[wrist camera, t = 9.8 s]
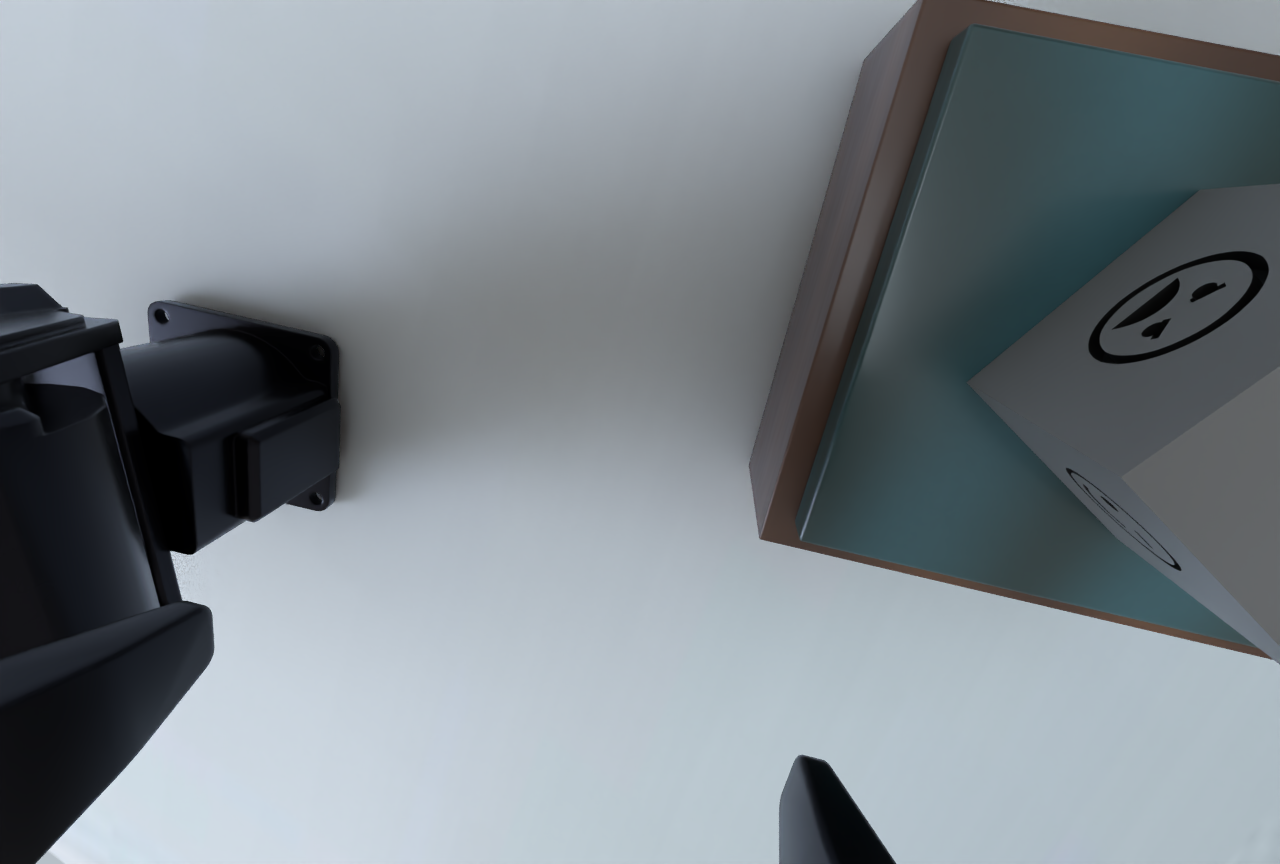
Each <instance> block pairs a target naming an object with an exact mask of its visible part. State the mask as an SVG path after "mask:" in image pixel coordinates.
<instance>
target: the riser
mask: <svg viewBox="0 0 1280 864" xmlns="http://www.w3.org/2000/svg"><path fill="white" fill-rule="evenodd" d="M1269 184H1280V56H1278V55H1273V54H1268V53H1262V52H1257V51H1252V50H1246V49H1241V48H1236V47H1231V46H1225V45H1220V44H1215V43H1210V42H1204V41H1199V40H1194V39H1188V38H1183V37H1178V36H1173V35H1167V34H1162V33H1157V32H1151V31H1146V30H1141V29H1136V28H1130V27H1125V26H1120V25H1114V24H1109V23H1104V22H1099V21H1093V20H1088V19H1083V18H1077V17H1072V16H1067V15H1062V14H1056V13H1051V12H1046V11H1040V10H1035V9H1030V8H1025V7H1019V6H1014V5H1009V4H1004V3H998V2H993V1H988V0H917V1H916V3H915V4H914V5H913V6H912V7H911V8H910V9H909V10H908V11H907V13H906V14H905V15H904V16H903V17H902V18H901V19H900V20H899V22H898V23H897V24H896V25H895V26H894V27H893V28H892V29H891V30H890V32H889V33H888V34H887V35H886V36H885V37H884V38H883V39H882V41H881V42H880V43H879V44H878V45H877V46H876V47H875V48H874V49H873V51H872V52H871V53H870V54H869V55H868V56H867V57H866V58H865V60H864V62H863V66H862V69H861V73H860V76H859V80H858V83H857V87H856V90H855V94H854V97H853V101H852V104H851V108H850V111H849V115H848V118H847V122H846V125H845V129H844V132H843V136H842V139H841V143H840V147H839V150H838V154H837V157H836V161H835V164H834V168H833V171H832V175H831V178H830V182H829V185H828V189H827V192H826V196H825V199H824V203H823V206H822V210H821V213H820V217H819V220H818V224H817V227H816V231H815V234H814V238H813V241H812V245H811V248H810V252H809V255H808V259H807V263H806V266H805V270H804V273H803V277H802V280H801V284H800V287H799V291H798V294H797V298H796V301H795V305H794V308H793V312H792V315H791V319H790V322H789V326H788V329H787V333H786V336H785V340H784V343H783V347H782V350H781V354H780V357H779V361H778V364H777V368H776V371H775V375H774V379H773V382H772V386H771V389H770V393H769V396H768V400H767V403H766V407H765V410H764V414H763V417H762V421H761V424H760V428H759V431H758V435H757V438H756V442H755V445H754V449H753V452H752V456H751V459H750V463H749V469H750V476H751V483H752V490H753V497H754V504H755V511H756V519H757V526H758V533H759V538H760V539H761V540H766V541H770V542H774V543H778V544H783V545H787V546H791V547H795V548H800V549H804V550H808V551H813V552H817V553H821V554H825V555H830V556H834V557H838V558H842V559H847V560H851V561H855V562H859V563H864V564H868V565H872V566H876V567H881V568H885V569H889V570H893V571H898V572H902V573H906V574H910V575H915V576H919V577H923V578H927V579H932V580H936V581H940V582H945V583H949V584H953V585H957V586H962V587H966V588H970V589H974V590H979V591H983V592H987V593H991V594H996V595H1000V596H1004V597H1008V598H1013V599H1017V600H1021V601H1025V602H1030V603H1034V604H1038V605H1042V606H1047V607H1051V608H1055V609H1059V610H1064V611H1068V612H1072V613H1077V614H1081V615H1085V616H1089V617H1094V618H1098V619H1102V620H1106V621H1111V622H1115V623H1119V624H1123V625H1128V626H1132V627H1136V628H1140V629H1145V630H1149V631H1153V632H1157V633H1162V634H1166V635H1170V636H1174V637H1179V638H1183V639H1187V640H1192V641H1196V642H1200V643H1204V644H1209V645H1213V646H1217V647H1221V648H1226V649H1230V650H1234V651H1238V652H1243V653H1247V654H1251V655H1255V656H1260V657H1264V658H1268V659H1272V658H1271V657H1270V656H1268V655H1267V654H1266V653H1264V652H1263V651H1262V650H1261V649H1259V648H1258V647H1257V646H1255V645H1254V644H1253V643H1251V642H1250V641H1249V640H1248V639H1246V638H1245V637H1244V636H1242V635H1241V634H1240V633H1239V632H1237V631H1236V630H1235V629H1233V628H1232V627H1231V626H1230V625H1228V624H1227V623H1226V622H1224V621H1223V620H1222V619H1220V618H1219V617H1218V616H1217V615H1215V614H1214V613H1213V612H1211V611H1210V610H1209V609H1208V608H1206V607H1205V606H1204V605H1202V604H1201V603H1200V602H1198V601H1197V600H1196V599H1195V598H1193V597H1192V596H1191V595H1189V594H1188V593H1187V592H1186V591H1184V590H1183V589H1182V588H1180V587H1179V586H1178V585H1177V584H1175V583H1174V582H1173V581H1171V580H1170V579H1169V578H1167V577H1166V576H1165V575H1164V574H1162V573H1161V572H1160V571H1158V570H1157V569H1156V568H1155V567H1153V566H1152V565H1151V564H1149V563H1148V562H1147V561H1145V560H1144V559H1143V558H1142V557H1140V556H1139V555H1138V554H1136V553H1135V552H1134V551H1133V550H1131V549H1130V548H1129V547H1127V546H1126V545H1125V544H1124V543H1122V542H1121V541H1120V540H1118V539H1117V538H1116V537H1115V536H1114V535H1113V534H1112V533H1111V532H1110V531H1109V530H1108V529H1107V528H1106V527H1105V526H1104V525H1103V524H1102V523H1101V521H1100V520H1099V519H1098V518H1097V517H1096V516H1095V515H1094V514H1093V513H1092V512H1091V511H1090V510H1089V509H1088V508H1087V507H1086V506H1085V505H1084V504H1083V503H1082V502H1081V501H1080V500H1079V499H1078V498H1077V497H1076V496H1075V495H1074V493H1073V492H1072V491H1071V490H1070V489H1069V488H1068V487H1067V486H1066V485H1065V484H1064V483H1063V482H1062V481H1061V480H1060V479H1059V478H1058V477H1057V476H1056V475H1055V474H1054V473H1053V472H1052V471H1051V470H1050V469H1049V468H1048V467H1047V465H1046V464H1045V463H1044V462H1043V461H1042V460H1041V459H1040V458H1039V457H1038V456H1037V455H1036V454H1035V453H1034V452H1033V451H1032V450H1031V449H1030V448H1029V447H1028V446H1027V445H1026V444H1025V443H1024V442H1023V441H1022V440H1021V439H1020V437H1019V436H1018V435H1017V434H1016V433H1015V432H1014V431H1013V430H1012V429H1011V428H1010V427H1009V426H1008V425H1007V424H1006V423H1005V422H1004V421H1003V420H1002V419H1001V418H1000V417H999V416H998V415H997V414H996V413H995V412H994V411H993V409H992V408H991V407H990V406H989V405H988V404H987V403H986V402H985V401H984V400H983V399H982V398H981V397H980V396H979V395H978V394H977V393H976V392H975V391H974V390H973V389H972V388H971V387H970V386H969V385H968V384H967V382H968V381H969V380H970V379H971V378H972V377H974V376H975V375H976V374H977V373H979V372H980V371H981V370H982V369H983V368H985V367H986V366H987V365H988V364H989V363H991V362H992V361H993V360H994V359H995V358H997V357H998V356H999V355H1000V354H1002V353H1003V352H1004V351H1005V350H1006V349H1008V348H1009V347H1010V346H1011V345H1012V344H1014V343H1015V342H1016V341H1017V340H1019V339H1020V338H1021V337H1022V336H1023V335H1025V334H1026V333H1027V332H1028V331H1029V330H1031V329H1032V328H1033V327H1034V326H1035V325H1037V324H1038V323H1039V322H1040V321H1042V320H1043V319H1044V318H1045V317H1046V316H1048V315H1049V314H1050V313H1051V312H1052V311H1054V310H1055V309H1056V308H1057V307H1058V306H1060V305H1061V304H1062V303H1063V302H1065V301H1066V300H1067V299H1068V298H1069V297H1071V296H1072V295H1073V294H1074V293H1075V292H1077V291H1078V290H1079V289H1080V288H1082V287H1083V286H1084V285H1085V284H1086V283H1088V282H1089V281H1090V280H1091V279H1092V278H1094V277H1095V276H1096V275H1097V274H1098V273H1100V272H1101V271H1102V270H1103V269H1105V268H1106V267H1107V266H1108V265H1109V264H1111V263H1112V262H1113V261H1114V260H1115V259H1117V258H1118V257H1119V256H1120V255H1122V254H1123V253H1124V252H1125V251H1126V250H1128V249H1129V248H1130V247H1131V246H1132V245H1134V244H1135V243H1136V242H1137V241H1138V240H1140V239H1141V238H1142V237H1143V236H1145V235H1146V234H1147V233H1148V232H1149V231H1151V230H1152V229H1153V228H1154V227H1155V226H1157V225H1158V224H1159V223H1160V222H1161V221H1163V220H1164V219H1165V218H1166V217H1168V216H1169V215H1170V214H1171V213H1172V212H1174V211H1175V210H1176V209H1177V208H1178V207H1180V206H1181V205H1182V204H1183V203H1185V202H1186V201H1187V200H1188V199H1189V198H1191V197H1192V196H1193V195H1194V194H1195V193H1197V192H1198V191H1199V190H1204V189H1217V188H1230V187H1243V186H1256V185H1269ZM1272 660H1273V659H1272Z"/></svg>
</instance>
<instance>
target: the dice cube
mask: <svg viewBox="0 0 1280 864" xmlns="http://www.w3.org/2000/svg"><path fill="white" fill-rule="evenodd" d="M967 384H968V385H969V386H970V387H971V388H972V389H973V390H974V391H975V392H976V393H977V394H978V395H979V396H980V397H981V398H982V399H983V400H984V401H985V402H986V403H987V404H988V405H989V406H990V407H991V408H992V409H993V411H994V412H995V413H996V414H997V415H998V416H999V417H1000V418H1001V419H1002V420H1003V421H1004V422H1005V423H1006V424H1007V425H1008V426H1009V427H1010V428H1011V429H1012V430H1013V431H1014V432H1015V433H1016V434H1017V435H1018V436H1019V437H1020V439H1021V440H1022V441H1023V442H1024V443H1025V444H1026V445H1027V446H1028V447H1029V448H1030V449H1031V450H1032V451H1033V452H1034V453H1035V454H1036V455H1037V456H1038V457H1039V458H1040V459H1041V460H1042V461H1043V462H1044V463H1045V464H1046V465H1047V467H1048V468H1049V469H1050V470H1051V471H1052V472H1053V473H1054V474H1055V475H1056V476H1057V477H1058V478H1059V479H1060V480H1061V481H1062V482H1063V483H1064V484H1065V485H1066V486H1067V487H1068V488H1069V489H1070V490H1071V491H1072V492H1073V493H1074V495H1075V496H1076V497H1077V498H1078V499H1079V500H1080V501H1081V502H1082V503H1083V504H1084V505H1085V506H1086V507H1087V508H1088V509H1089V510H1090V511H1091V512H1092V513H1093V514H1094V515H1095V516H1096V517H1097V518H1098V519H1099V520H1100V521H1101V523H1102V524H1103V525H1104V526H1105V527H1106V528H1107V529H1108V530H1109V531H1110V532H1111V533H1112V534H1113V535H1114V536H1115V537H1116V538H1117V539H1118V540H1120V541H1121V542H1122V543H1124V544H1125V545H1126V546H1127V547H1129V548H1130V549H1131V550H1133V551H1134V552H1135V553H1136V554H1138V555H1139V556H1140V557H1142V558H1143V559H1144V560H1145V561H1147V562H1148V563H1149V564H1151V565H1152V566H1153V567H1155V568H1156V569H1157V570H1158V571H1160V572H1161V573H1162V574H1164V575H1165V576H1166V577H1167V578H1169V579H1170V580H1171V581H1173V582H1174V583H1175V584H1177V585H1178V586H1179V587H1180V588H1182V589H1183V590H1184V591H1186V592H1187V593H1188V594H1189V595H1191V596H1192V597H1193V598H1195V599H1196V600H1197V601H1198V602H1200V603H1201V604H1202V605H1204V606H1205V607H1206V608H1208V609H1209V610H1210V611H1211V612H1213V613H1214V614H1215V615H1217V616H1218V617H1219V618H1220V619H1222V620H1223V621H1224V622H1226V623H1227V624H1228V625H1230V626H1231V627H1232V628H1233V629H1235V630H1236V631H1237V632H1239V633H1240V634H1241V635H1242V636H1244V637H1245V638H1246V639H1248V640H1249V641H1250V642H1251V643H1253V644H1254V645H1255V646H1257V647H1258V648H1259V649H1261V650H1262V651H1263V652H1264V653H1266V654H1267V655H1268V656H1270V657H1271V658H1272V659H1273V660H1275V661H1276V662H1277V663H1279V664H1280V184H1269V185H1256V186H1243V187H1230V188H1217V189H1204V190H1199V191H1198V192H1197V193H1195V194H1194V195H1193V196H1192V197H1191V198H1189V199H1188V200H1187V201H1186V202H1185V203H1183V204H1182V205H1181V206H1180V207H1178V208H1177V209H1176V210H1175V211H1174V212H1172V213H1171V214H1170V215H1169V216H1168V217H1166V218H1165V219H1164V220H1163V221H1161V222H1160V223H1159V224H1158V225H1157V226H1155V227H1154V228H1153V229H1152V230H1151V231H1149V232H1148V233H1147V234H1146V235H1145V236H1143V237H1142V238H1141V239H1140V240H1138V241H1137V242H1136V243H1135V244H1134V245H1132V246H1131V247H1130V248H1129V249H1128V250H1126V251H1125V252H1124V253H1123V254H1122V255H1120V256H1119V257H1118V258H1117V259H1115V260H1114V261H1113V262H1112V263H1111V264H1109V265H1108V266H1107V267H1106V268H1105V269H1103V270H1102V271H1101V272H1100V273H1098V274H1097V275H1096V276H1095V277H1094V278H1092V279H1091V280H1090V281H1089V282H1088V283H1086V284H1085V285H1084V286H1083V287H1082V288H1080V289H1079V290H1078V291H1077V292H1075V293H1074V294H1073V295H1072V296H1071V297H1069V298H1068V299H1067V300H1066V301H1065V302H1063V303H1062V304H1061V305H1060V306H1058V307H1057V308H1056V309H1055V310H1054V311H1052V312H1051V313H1050V314H1049V315H1048V316H1046V317H1045V318H1044V319H1043V320H1042V321H1040V322H1039V323H1038V324H1037V325H1035V326H1034V327H1033V328H1032V329H1031V330H1029V331H1028V332H1027V333H1026V334H1025V335H1023V336H1022V337H1021V338H1020V339H1019V340H1017V341H1016V342H1015V343H1014V344H1012V345H1011V346H1010V347H1009V348H1008V349H1006V350H1005V351H1004V352H1003V353H1002V354H1000V355H999V356H998V357H997V358H995V359H994V360H993V361H992V362H991V363H989V364H988V365H987V366H986V367H985V368H983V369H982V370H981V371H980V372H979V373H977V374H976V375H975V376H974V377H972V378H971V379H970V380H969V381H968V382H967Z"/></svg>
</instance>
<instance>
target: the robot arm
mask: <svg viewBox="0 0 1280 864" xmlns="http://www.w3.org/2000/svg"><path fill="white" fill-rule="evenodd" d="M165 312H166V313H167V314H168V317H169V320H168V319H167V318H166V316H165ZM148 323H149V334H150V343H146V344H141V345H137V346H132V347H127V348H122V349H120V348H119V343H122V342H123V338H122V334H121V330H120V326H119V322H118V320H117V319H104V318H89V317H84V316H83V315H80V314H73V313H69V311H68V308H65V307H62V306H61V305H59V304H58V303H57V302H56V301H55V300H54V299H53V298H52V297H51V296H50V295H49V294H47V293H46V292H45V291H44V290H43V289H42V288H41V287H40V286H39V285H38V284H23V283H8V284H0V864H36V862H37V861H38V860H39V859H40V858H41V857H42V856H43V855H44V854H45V853H46V852H47V851H48V850H49V849H50V848H51V847H52V846H53V845H54V843H55V842H56V841H57V840H58V839H59V838H60V837H61V836H62V835H63V834H64V833H65V832H66V831H67V830H68V829H69V828H70V826H71V825H72V824H73V823H74V822H75V821H76V820H77V819H78V818H79V817H80V816H81V815H82V814H83V813H84V812H85V810H86V809H87V808H88V807H89V806H90V805H91V804H92V803H93V802H94V801H95V800H96V799H97V798H98V797H99V796H100V795H101V793H102V792H103V791H104V790H105V789H106V788H107V787H108V786H109V785H110V784H111V783H112V782H113V781H114V780H115V779H116V778H117V776H118V775H119V774H120V773H121V772H122V771H123V770H124V769H125V768H126V766H127V765H128V764H129V763H130V762H131V761H132V760H133V758H134V757H135V756H136V755H137V754H138V753H139V751H140V750H141V749H142V748H143V747H144V745H145V744H146V743H147V742H148V740H149V739H150V738H151V737H152V735H153V734H154V733H155V732H156V730H157V729H158V728H159V727H160V725H161V724H162V723H163V722H164V720H165V719H166V718H167V717H168V715H169V714H170V713H171V712H172V710H173V709H174V708H175V706H176V705H177V704H178V703H179V701H180V700H181V699H182V698H183V696H184V695H185V694H186V693H187V691H188V690H189V689H190V688H191V686H192V685H193V684H194V683H195V681H196V680H197V679H198V678H199V676H200V675H201V674H202V673H203V671H204V670H205V669H206V667H207V666H208V665H209V663H210V661H211V659H212V656H213V653H214V634H213V618H212V612H211V610H210V609H209V607H207V606H205V605H201V604H197V603H193V602H189V601H182V598H181V594H180V590H179V586H178V582H177V578H176V574H175V569H174V565H173V561H172V557H171V553H170V551H175V552H179V553H183V554H187V555H192V554H194V553H195V552H197V551H199V550H200V549H202V548H203V547H205V546H207V545H208V544H210V543H211V542H213V541H214V540H216V539H218V538H219V537H221V536H222V535H224V534H226V533H227V532H229V531H230V530H232V529H234V528H235V527H237V526H238V525H240V524H242V523H243V522H245V521H250V522H256V521H258V520H260V519H261V518H263V517H265V516H266V515H268V514H269V513H271V512H272V511H274V510H275V509H277V508H279V507H280V506H282V505H283V504H285V503H286V504H290V505H294V506H298V507H302V508H307V509H311V510H315V511H322V510H325V509H326V508H328V507H329V506H330V505H332V504H333V502H334V501H335V497H336V470H337V469H338V468H339V448H340V408H341V407H340V404H339V402H338V367H339V351H338V347H337V345H336V343H335V341H333V340H332V339H331V338H330V337H328V336H325V335H321V334H317V333H313V332H308V331H304V330H299V329H295V328H290V327H286V326H282V325H277V324H273V323H268V322H264V321H260V320H255V319H251V318H246V317H242V316H238V315H233V314H229V313H224V312H220V311H215V310H211V309H207V308H202V307H198V306H193V305H189V304H185V303H180V302H176V301H171V300H164V301H157V302H154V303H152V304H150V306H149V308H148ZM318 345H319V346H321V347H322V348H323V349H324V353H325V355H324V357H323V356H321V355H320V353H319V352H318ZM316 493H318V494H320V495H321V497H322V500H321V499H319V498H318V497H317V495H316ZM779 864H896V863H895V861H894V860H893V858H892V857H891V855H890V854H889V852H888V851H887V849H886V848H885V846H884V845H883V843H882V842H881V840H880V839H879V837H878V836H877V834H876V833H875V831H874V830H873V828H872V827H871V825H870V824H869V823H868V821H867V820H866V818H865V817H864V815H863V814H862V812H861V811H860V809H859V808H858V806H857V805H856V803H855V802H854V800H853V799H852V797H851V796H850V794H849V793H848V791H847V790H846V788H845V787H844V785H843V784H842V783H841V781H840V780H839V778H838V777H837V775H836V774H835V772H834V771H833V769H832V768H831V766H830V765H829V764H828V763H827V762H826V761H824V760H821V759H817V758H813V757H809V756H805V755H799V756H798V757H797V758H796V759H795V761H794V763H793V766H792V768H791V771H790V773H789V776H788V779H787V781H786V784H785V786H784V789H783V792H782V795H781V799H780V806H779Z"/></svg>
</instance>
